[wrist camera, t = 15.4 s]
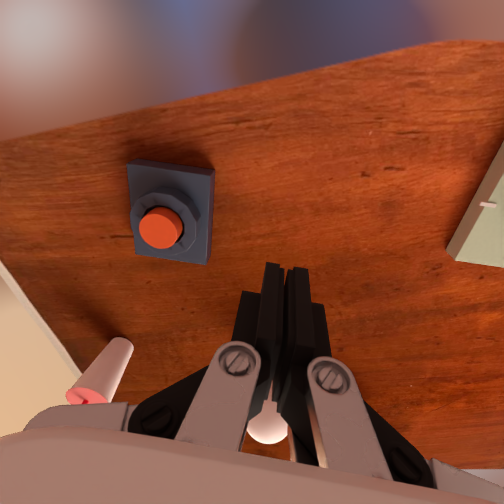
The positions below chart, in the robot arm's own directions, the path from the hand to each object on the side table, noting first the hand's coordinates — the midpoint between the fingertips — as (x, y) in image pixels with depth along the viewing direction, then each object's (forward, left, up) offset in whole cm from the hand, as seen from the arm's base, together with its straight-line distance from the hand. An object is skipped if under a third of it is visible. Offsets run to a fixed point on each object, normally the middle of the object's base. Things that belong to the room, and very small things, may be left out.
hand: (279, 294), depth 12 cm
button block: (+6, -11, -19) cm, 22 cm away
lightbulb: (+27, +3, -19) cm, 33 cm away
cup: (+29, -19, -19) cm, 39 cm away
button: (+6, -11, -16) cm, 20 cm away
